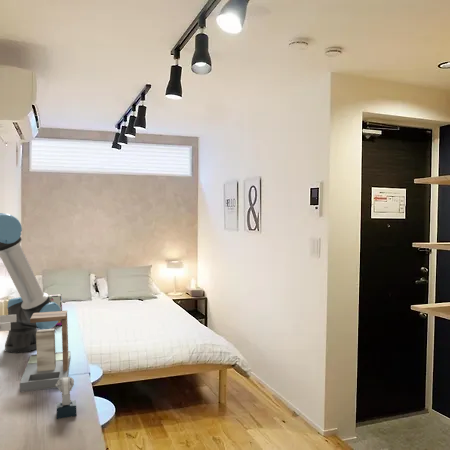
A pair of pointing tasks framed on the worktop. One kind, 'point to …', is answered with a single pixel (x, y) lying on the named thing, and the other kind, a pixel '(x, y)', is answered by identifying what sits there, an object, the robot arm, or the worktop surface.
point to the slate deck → (43, 374)
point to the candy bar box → (57, 300)
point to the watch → (66, 398)
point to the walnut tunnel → (58, 317)
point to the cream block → (45, 349)
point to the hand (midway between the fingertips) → (13, 322)
